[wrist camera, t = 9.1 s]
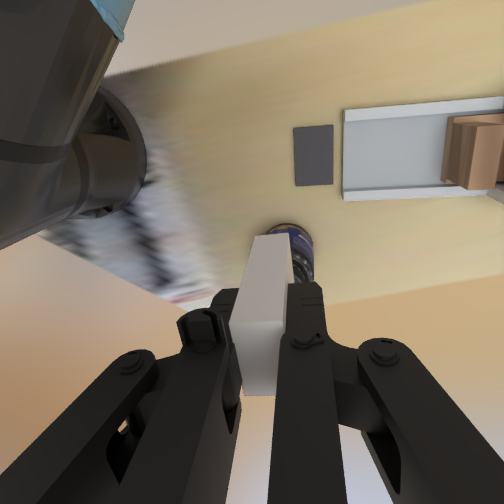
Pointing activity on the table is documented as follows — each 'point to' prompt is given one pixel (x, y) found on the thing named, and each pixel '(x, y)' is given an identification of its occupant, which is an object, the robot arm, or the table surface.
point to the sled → (474, 151)
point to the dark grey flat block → (313, 155)
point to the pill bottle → (299, 251)
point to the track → (405, 150)
